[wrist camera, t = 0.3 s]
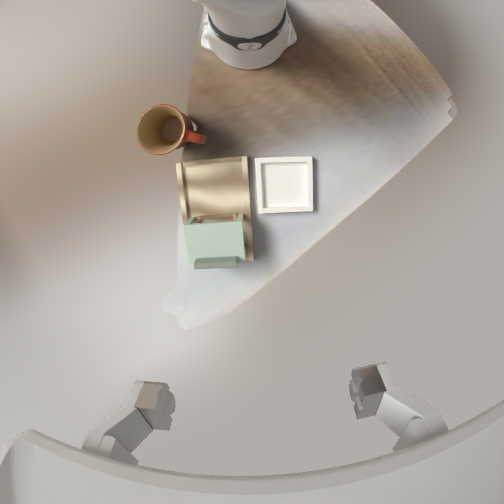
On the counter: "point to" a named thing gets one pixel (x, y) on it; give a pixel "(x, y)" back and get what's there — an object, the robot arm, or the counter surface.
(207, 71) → the counter surface
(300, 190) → the dish
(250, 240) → the board
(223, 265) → the green stool
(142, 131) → the mug
